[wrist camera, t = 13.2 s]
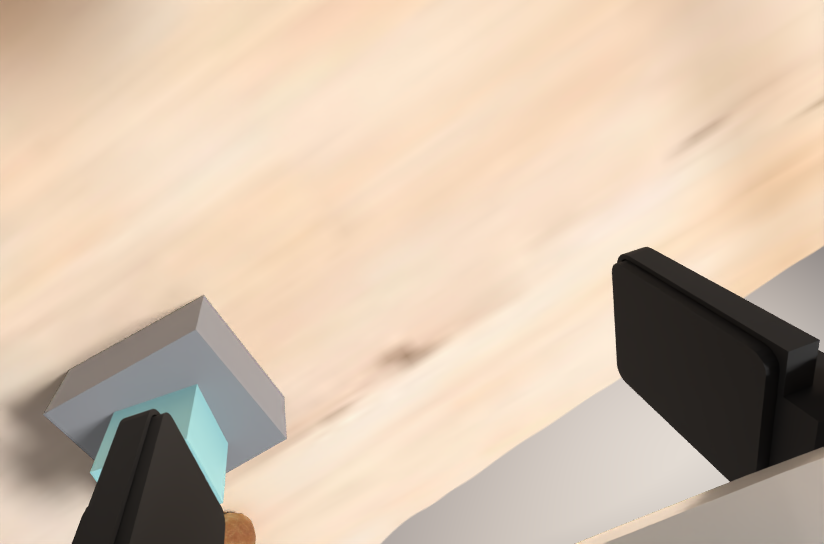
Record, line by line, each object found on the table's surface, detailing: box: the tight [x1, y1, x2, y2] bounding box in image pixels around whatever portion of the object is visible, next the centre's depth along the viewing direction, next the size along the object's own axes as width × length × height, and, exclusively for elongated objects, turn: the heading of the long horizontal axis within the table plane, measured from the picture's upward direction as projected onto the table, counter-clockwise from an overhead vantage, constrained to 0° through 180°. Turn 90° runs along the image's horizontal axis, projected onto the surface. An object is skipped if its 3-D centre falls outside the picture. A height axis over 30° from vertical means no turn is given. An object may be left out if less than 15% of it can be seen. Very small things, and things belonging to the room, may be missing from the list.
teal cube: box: [90, 384, 228, 504], centre depth 37 cm, size 6×6×6 cm
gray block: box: [43, 295, 287, 473], centre depth 43 cm, size 12×12×6 cm
